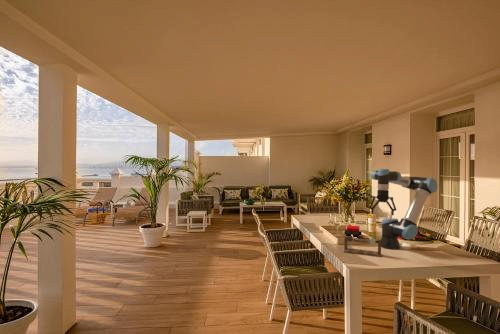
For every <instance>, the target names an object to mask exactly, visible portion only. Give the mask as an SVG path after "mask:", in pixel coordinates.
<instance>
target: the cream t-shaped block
mask: <svg viewBox="0 0 500 334" xmlns="http://www.w3.org/2000/svg"><path fill="white" fill-rule="evenodd" d="M369 240H370V242H368V243H369V245H371V246H372V245H373V246H376V243H375V241H376V238H375V237H374V230H371V237H369Z"/></svg>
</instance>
